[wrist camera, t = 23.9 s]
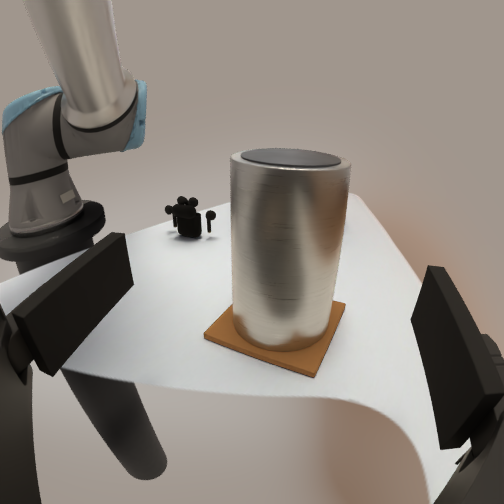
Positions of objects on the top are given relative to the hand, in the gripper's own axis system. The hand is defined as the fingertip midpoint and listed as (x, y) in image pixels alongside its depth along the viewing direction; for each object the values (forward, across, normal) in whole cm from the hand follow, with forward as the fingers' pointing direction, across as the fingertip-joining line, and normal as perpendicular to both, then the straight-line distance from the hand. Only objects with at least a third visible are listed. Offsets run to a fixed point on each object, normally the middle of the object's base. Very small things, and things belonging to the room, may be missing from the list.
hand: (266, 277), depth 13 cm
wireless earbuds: (+21, -13, -9) cm, 27 cm away
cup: (+8, 0, -8) cm, 12 cm away
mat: (+8, 0, -9) cm, 12 cm away
